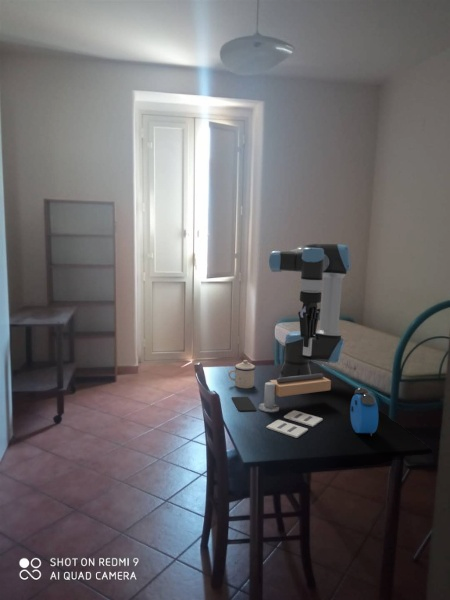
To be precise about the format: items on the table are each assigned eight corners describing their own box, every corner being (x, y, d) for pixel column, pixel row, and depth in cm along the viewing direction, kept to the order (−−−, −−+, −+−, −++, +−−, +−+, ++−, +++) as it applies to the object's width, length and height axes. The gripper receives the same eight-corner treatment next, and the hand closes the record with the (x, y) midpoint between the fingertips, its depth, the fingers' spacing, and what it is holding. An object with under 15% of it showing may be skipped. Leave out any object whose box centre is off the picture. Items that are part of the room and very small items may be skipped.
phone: (248, 396, 187) (257, 409, 172) (248, 398, 187) (257, 412, 172) (231, 397, 185) (238, 410, 171) (230, 398, 185) (238, 412, 171)
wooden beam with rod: (269, 410, 170) (270, 382, 169) (259, 402, 178) (260, 376, 176) (329, 401, 182) (331, 375, 180) (317, 395, 189) (319, 370, 187)
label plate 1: (278, 421, 163) (278, 419, 163) (307, 430, 156) (307, 428, 156) (266, 427, 157) (266, 426, 157) (296, 438, 150) (296, 436, 150)
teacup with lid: (252, 382, 206) (253, 357, 205) (256, 388, 197) (257, 363, 196) (226, 382, 205) (227, 357, 203) (229, 389, 196) (230, 363, 194)
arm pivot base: (265, 403, 181) (265, 401, 180) (282, 408, 176) (282, 406, 176) (254, 408, 174) (254, 406, 174) (272, 414, 169) (272, 412, 169)
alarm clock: (377, 440, 150) (380, 397, 148) (358, 439, 150) (362, 397, 148) (365, 424, 163) (368, 384, 161) (348, 423, 163) (351, 384, 161)
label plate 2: (294, 411, 173) (294, 409, 173) (322, 420, 166) (322, 418, 165) (283, 417, 166) (283, 415, 166) (312, 426, 159) (313, 424, 159)
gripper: (309, 288, 167) (305, 350, 170) (292, 291, 157) (289, 356, 160) (328, 290, 162) (324, 353, 166) (312, 293, 152) (308, 360, 155)
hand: (306, 355), depth 163 cm, fingers closed
